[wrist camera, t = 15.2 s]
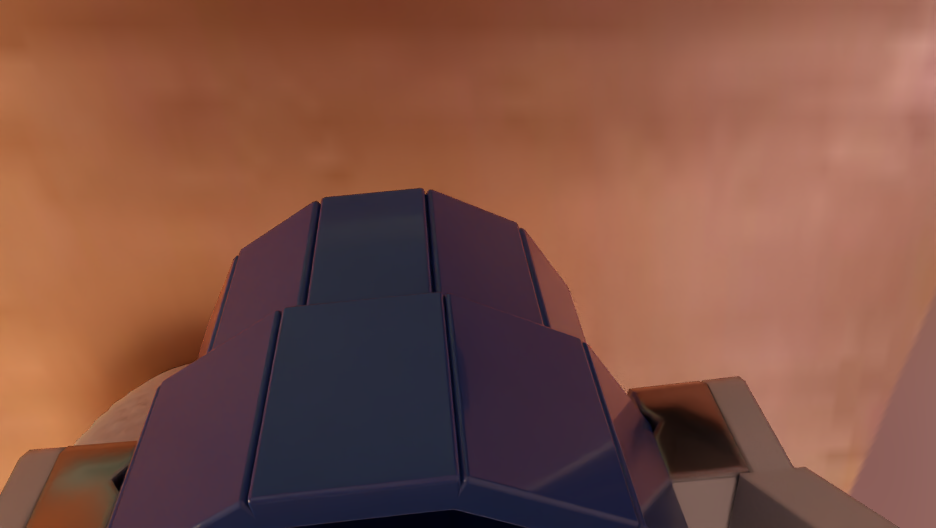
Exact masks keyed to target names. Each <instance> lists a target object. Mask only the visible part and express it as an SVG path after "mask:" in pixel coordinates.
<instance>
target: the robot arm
mask: <svg viewBox="0 0 936 528" xmlns="http://www.w3.org/2000/svg"><path fill="white" fill-rule="evenodd" d="M627 395H628V397H629V398H630V399H631V401H632V402H633V403H634V404H635V406H636V407H637V408H638V410H639V411H640V412H641V414H642V415H643V416H644V417H645V419H646V420H647V421H648V423H649V424H650V427H651V429H652V432H653V435H654V437H655V440H656V443H657V445H658V448H659V451H660V453H661V456H662V459H663V461H664V464H665V467H666V469H667V472H668V475H669V477H670V480H671V483H672V485H673V488H674V491H675V493H676V496H677V499H678V501H679V504H680V507H681V509H682V512H683V515H684V517H685V520H686V523H687V525H688V528H899V527H898V526H896V525H895V524H893V523H891V522H890V521H888V520H887V519H885V518H883V517H882V516H880V515H879V514H877V513H876V512H874V511H873V510H871V509H870V508H868V507H867V506H865V505H863V504H862V503H860V502H859V501H857V500H856V499H854V498H852V497H851V496H849V495H848V494H846V493H845V492H843V491H842V490H840V489H839V488H837V487H835V486H834V485H832V484H831V483H829V482H828V481H826V480H825V479H823V478H821V477H820V476H818V475H817V474H815V473H814V472H812V471H811V470H809V469H808V468H806V467H799V468H794V467H793V465H792V464H791V462H790V460H789V458H788V457H787V455H786V453H785V451H784V449H783V448H782V446H781V444H780V442H779V441H778V439H777V437H776V435H775V433H774V432H773V430H772V428H771V426H770V424H769V423H768V421H767V419H766V417H765V416H764V414H763V412H762V410H761V408H760V407H759V405H758V403H757V401H756V400H755V398H754V396H753V394H752V392H751V391H750V389H749V387H748V385H747V383H746V382H745V381H744V380H743V379H742V378H740V377H739V376H737V377H728V378H719V379H711V380H703V381H701V382H700V381H694V382H685V383H676V384H667V385H658V386H650V387H641V388H632V389H629V391H628V393H627ZM136 443H137V441H126V442H113V443H101V444H88V445H76V446H68V447H60V448H47V449H34V450H29V451H28V452H26V453H25V454H24V455H23V456H22V457H20V458H19V460H18V461H17V463H16V465H15V467H14V469H13V471H12V473H11V475H10V477H9V479H8V481H7V483H6V485H5V487H4V489H3V490H2V492H1V494H0V528H106V525H107V523H108V520H109V517H110V514H111V511H112V509H113V506H114V503H115V500H116V497H117V495H118V492H119V489H120V486H121V483H122V481H123V478H124V475H125V472H126V470H127V467H128V464H129V462H130V459H131V456H132V453H133V451H134V448H135V445H136Z"/></svg>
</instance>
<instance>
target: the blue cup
mask: <svg viewBox="0 0 936 528" xmlns="http://www.w3.org/2000/svg"><path fill="white" fill-rule="evenodd" d="M106 528H688V525H687V523H686V520H685V517H684V515H683V512H682V509H681V507H680V504H679V501H678V499H677V496H676V493H675V491H674V488H673V485H672V483H671V480H670V477H669V475H668V472H667V469H666V467H665V464H664V461H663V459H662V456H661V453H660V451H659V448H658V445H657V443H656V440H655V437H654V435H653V432H652V429H651V427H650V424H649V423H648V421H647V420H646V419H645V417H644V416H643V415H642V414H641V412H640V411H639V410H638V408H637V407H636V406H635V404H634V403H633V402H632V401H631V399H630V398H629V397H628V395H627V394H626V393H625V392H624V390H623V389H622V388H621V386H620V385H619V384H618V383H617V381H616V380H615V379H614V377H613V376H612V375H611V374H610V372H609V371H608V370H607V368H606V367H605V366H604V365H603V363H602V362H601V361H600V359H599V358H598V357H597V356H596V354H595V353H594V352H593V350H592V349H591V348H590V347H589V345H588V344H587V343H586V340H585V337H584V334H583V331H582V328H581V325H580V322H579V318H578V315H577V312H576V309H575V306H574V303H573V300H572V297H571V294H570V291H569V288H568V286H567V285H566V284H565V282H564V281H563V280H562V278H561V277H560V276H559V274H558V273H557V272H556V270H555V269H554V268H553V266H552V265H551V264H550V262H549V261H548V260H547V258H546V257H545V256H544V254H543V253H542V252H541V250H540V249H539V248H538V246H537V245H536V244H535V242H534V241H533V240H532V238H531V237H530V236H529V234H528V233H527V232H526V231H525V230H524V229H523V228H519V227H518V224H517V223H516V222H514V221H511V220H508V219H506V218H503V217H501V216H498V215H496V214H493V213H491V212H488V211H485V210H483V209H480V208H478V207H475V206H473V205H470V204H468V203H465V202H462V201H460V200H457V199H455V198H452V197H450V196H447V195H445V194H442V193H439V192H437V191H434V190H429V191H428V192H427V193H426V195H425V191H424V189H423V188H415V189H405V190H394V191H384V192H373V193H363V194H352V195H342V196H331V197H324V198H322V200H321V204H320V203H319V202H318V201H314V202H312V203H311V204H309V205H308V206H306V207H305V208H303V209H302V210H300V211H299V212H297V213H296V214H294V215H292V216H291V217H289V218H288V219H286V220H285V221H283V222H282V223H280V224H279V225H277V226H276V227H274V228H273V229H271V230H270V231H268V232H267V233H265V234H264V235H262V236H261V237H259V238H258V239H256V240H255V241H253V242H252V243H250V244H249V245H247V246H246V247H244V248H243V249H241V251H240V252H239V256H236V257H235V258H234V259H233V262H232V264H231V267H230V269H229V272H228V274H227V277H226V279H225V282H224V284H223V287H222V290H221V292H220V295H219V297H218V300H217V302H216V305H215V307H214V310H213V312H212V315H211V318H210V320H209V323H208V325H207V329H206V332H205V335H204V339H203V342H202V345H201V348H200V352H199V355H198V358H197V360H196V361H194V362H193V363H191V364H189V365H188V366H186V367H185V368H183V369H181V370H180V371H178V372H177V373H175V374H173V375H172V376H170V377H169V378H167V379H165V380H164V381H163V382H162V383H161V386H159V387H158V388H157V389H156V391H155V394H154V397H153V399H152V402H151V405H150V407H149V410H148V413H147V416H146V418H145V421H144V424H143V426H142V429H141V432H140V435H139V437H138V440H137V443H136V445H135V448H134V451H133V453H132V456H131V459H130V462H129V464H128V467H127V470H126V472H125V475H124V478H123V481H122V483H121V486H120V489H119V492H118V495H117V497H116V500H115V503H114V506H113V509H112V511H111V514H110V517H109V520H108V523H107V525H106Z"/></svg>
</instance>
